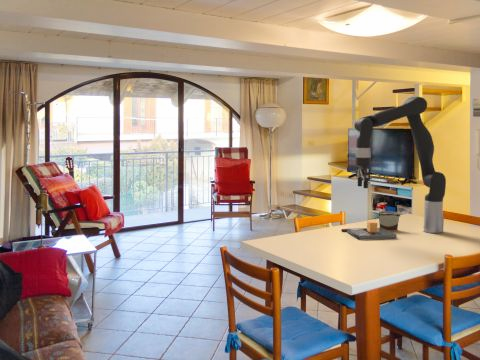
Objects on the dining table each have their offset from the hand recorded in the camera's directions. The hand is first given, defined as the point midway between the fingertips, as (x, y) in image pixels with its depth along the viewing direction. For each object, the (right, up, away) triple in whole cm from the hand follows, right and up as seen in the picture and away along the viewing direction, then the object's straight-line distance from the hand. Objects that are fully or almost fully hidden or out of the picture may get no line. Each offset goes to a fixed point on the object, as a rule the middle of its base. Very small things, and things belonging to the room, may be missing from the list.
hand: (362, 187), depth 249 cm
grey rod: (-3, -25, +13) cm, 28 cm away
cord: (-5, -26, +2) cm, 26 cm away
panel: (+5, -26, +3) cm, 26 cm away
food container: (+19, -24, +18) cm, 36 cm away
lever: (+5, -26, +2) cm, 27 cm away
